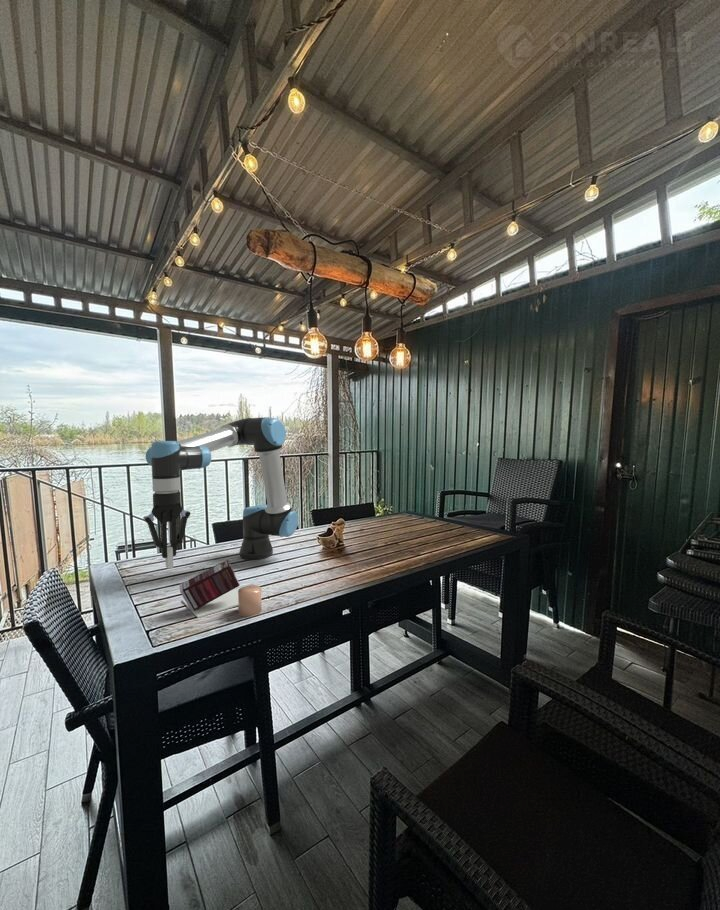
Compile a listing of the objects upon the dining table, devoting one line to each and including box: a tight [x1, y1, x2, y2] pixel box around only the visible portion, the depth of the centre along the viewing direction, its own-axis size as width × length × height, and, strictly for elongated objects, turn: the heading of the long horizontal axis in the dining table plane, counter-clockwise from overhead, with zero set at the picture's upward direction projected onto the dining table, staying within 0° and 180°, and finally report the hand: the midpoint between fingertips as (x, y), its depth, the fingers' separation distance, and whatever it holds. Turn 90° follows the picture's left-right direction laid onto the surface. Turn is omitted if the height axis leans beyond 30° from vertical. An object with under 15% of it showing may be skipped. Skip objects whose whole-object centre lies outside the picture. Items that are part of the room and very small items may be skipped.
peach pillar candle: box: [237, 584, 262, 617], centre depth 117 cm, size 7×7×7 cm
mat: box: [181, 588, 238, 619], centre depth 124 cm, size 17×16×1 cm
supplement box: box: [179, 559, 240, 613], centre depth 119 cm, size 9×5×16 cm
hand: (169, 567), depth 114 cm, fingers closed
